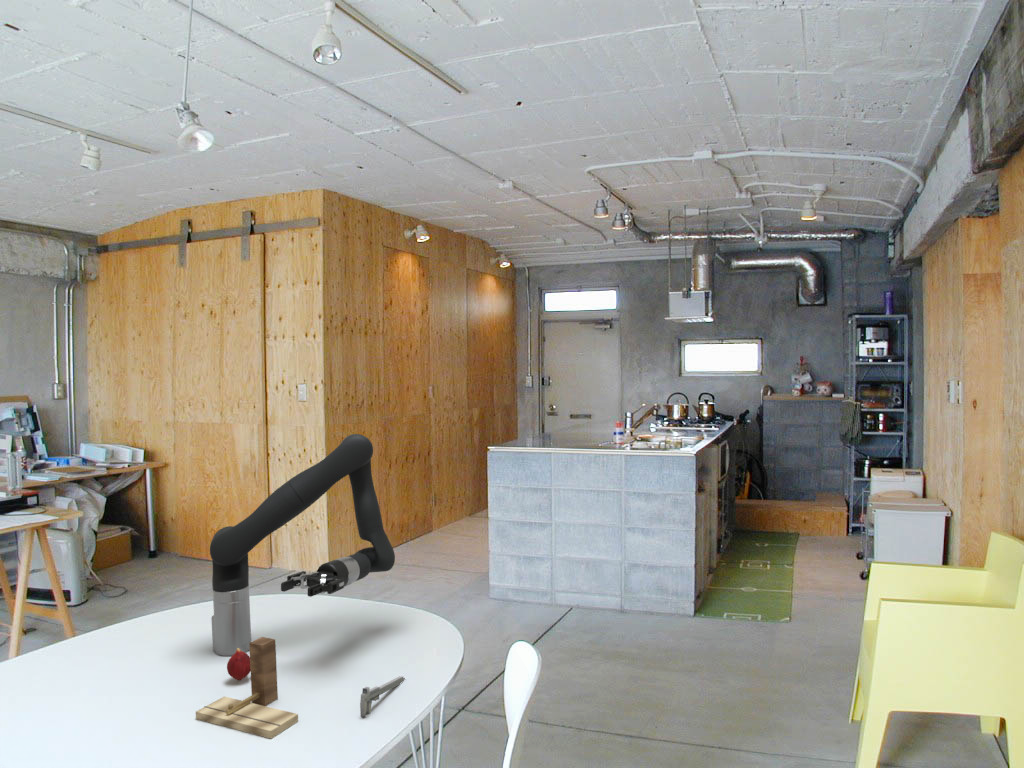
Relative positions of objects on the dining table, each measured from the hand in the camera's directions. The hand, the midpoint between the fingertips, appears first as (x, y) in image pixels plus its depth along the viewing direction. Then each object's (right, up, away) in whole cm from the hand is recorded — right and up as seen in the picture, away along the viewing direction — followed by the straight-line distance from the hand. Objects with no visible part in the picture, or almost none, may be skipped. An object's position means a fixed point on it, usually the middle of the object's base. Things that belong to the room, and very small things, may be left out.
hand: (295, 590), depth 184 cm
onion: (-14, -23, +1) cm, 27 cm away
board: (-5, -23, -19) cm, 31 cm away
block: (-6, -23, -15) cm, 28 cm away
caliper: (+24, -22, -10) cm, 34 cm away
